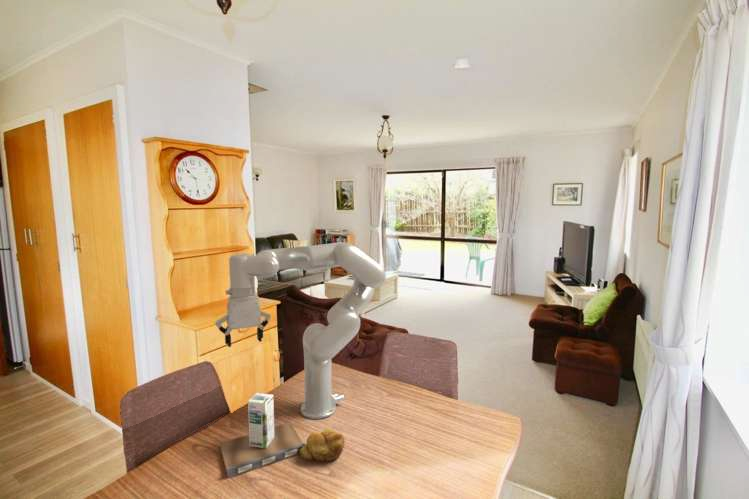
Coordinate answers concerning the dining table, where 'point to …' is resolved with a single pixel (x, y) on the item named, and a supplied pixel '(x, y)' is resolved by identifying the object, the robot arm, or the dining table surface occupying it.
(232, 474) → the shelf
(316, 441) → the bread roll
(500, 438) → the dining table surface
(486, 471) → the dining table surface
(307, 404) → the robot arm
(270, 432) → the syrup box
